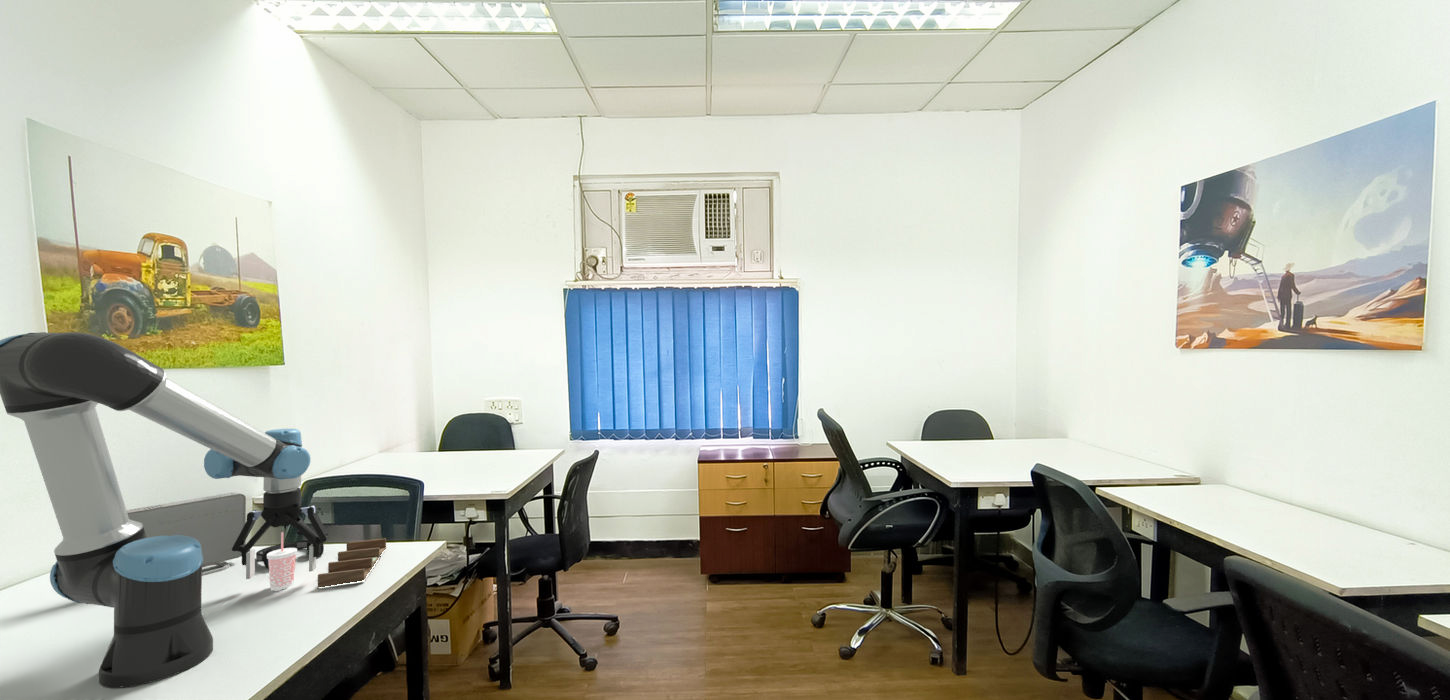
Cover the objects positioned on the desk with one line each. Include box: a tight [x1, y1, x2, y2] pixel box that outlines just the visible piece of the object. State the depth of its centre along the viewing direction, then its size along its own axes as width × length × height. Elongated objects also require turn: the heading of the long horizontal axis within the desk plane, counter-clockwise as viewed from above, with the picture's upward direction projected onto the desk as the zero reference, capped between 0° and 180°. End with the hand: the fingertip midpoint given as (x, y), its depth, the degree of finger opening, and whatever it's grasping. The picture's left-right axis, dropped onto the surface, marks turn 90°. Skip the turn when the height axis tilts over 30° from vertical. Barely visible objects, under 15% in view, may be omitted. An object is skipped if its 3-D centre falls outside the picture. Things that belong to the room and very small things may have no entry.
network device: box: [126, 491, 247, 577], centre depth 145 cm, size 26×9×20 cm, turn 148°
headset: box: [255, 530, 325, 569], centre depth 158 cm, size 14×10×20 cm
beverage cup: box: [267, 531, 298, 591], centre depth 138 cm, size 6×6×14 cm
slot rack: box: [317, 537, 387, 588], centre depth 151 cm, size 26×10×4 cm, turn 21°
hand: (282, 573), depth 138 cm, fingers open, 12 cm apart
